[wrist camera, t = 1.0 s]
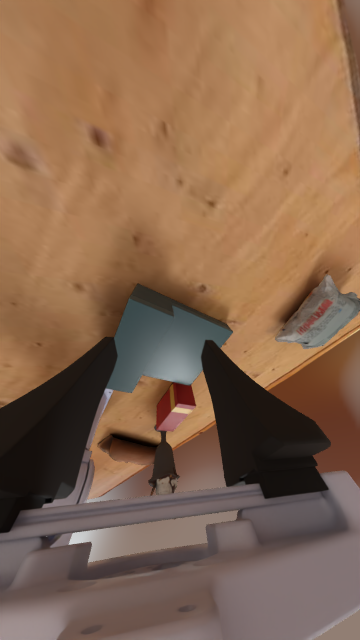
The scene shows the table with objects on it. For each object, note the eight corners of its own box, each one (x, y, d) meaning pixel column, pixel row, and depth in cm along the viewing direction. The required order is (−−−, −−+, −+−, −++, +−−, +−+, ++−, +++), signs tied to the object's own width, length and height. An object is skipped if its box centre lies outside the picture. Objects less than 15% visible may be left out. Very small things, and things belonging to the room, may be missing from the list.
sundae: (179, 426, 39) (189, 516, 26) (159, 434, 40) (160, 526, 27) (167, 417, 36) (172, 515, 23) (146, 426, 36) (139, 526, 23)
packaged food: (265, 332, 25) (287, 349, 21) (314, 271, 21) (355, 278, 16) (294, 342, 28) (319, 359, 24) (343, 290, 23) (385, 300, 19)
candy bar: (171, 407, 34) (173, 431, 29) (156, 405, 32) (156, 430, 28) (191, 383, 30) (196, 406, 26) (175, 379, 29) (177, 403, 24)
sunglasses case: (94, 448, 37) (92, 474, 31) (111, 423, 39) (112, 443, 33) (145, 457, 45) (151, 479, 39) (157, 436, 47) (165, 454, 41)
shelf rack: (187, 375, 29) (194, 404, 23) (109, 355, 23) (95, 387, 18) (226, 324, 23) (246, 346, 18) (137, 283, 18) (129, 298, 13)
